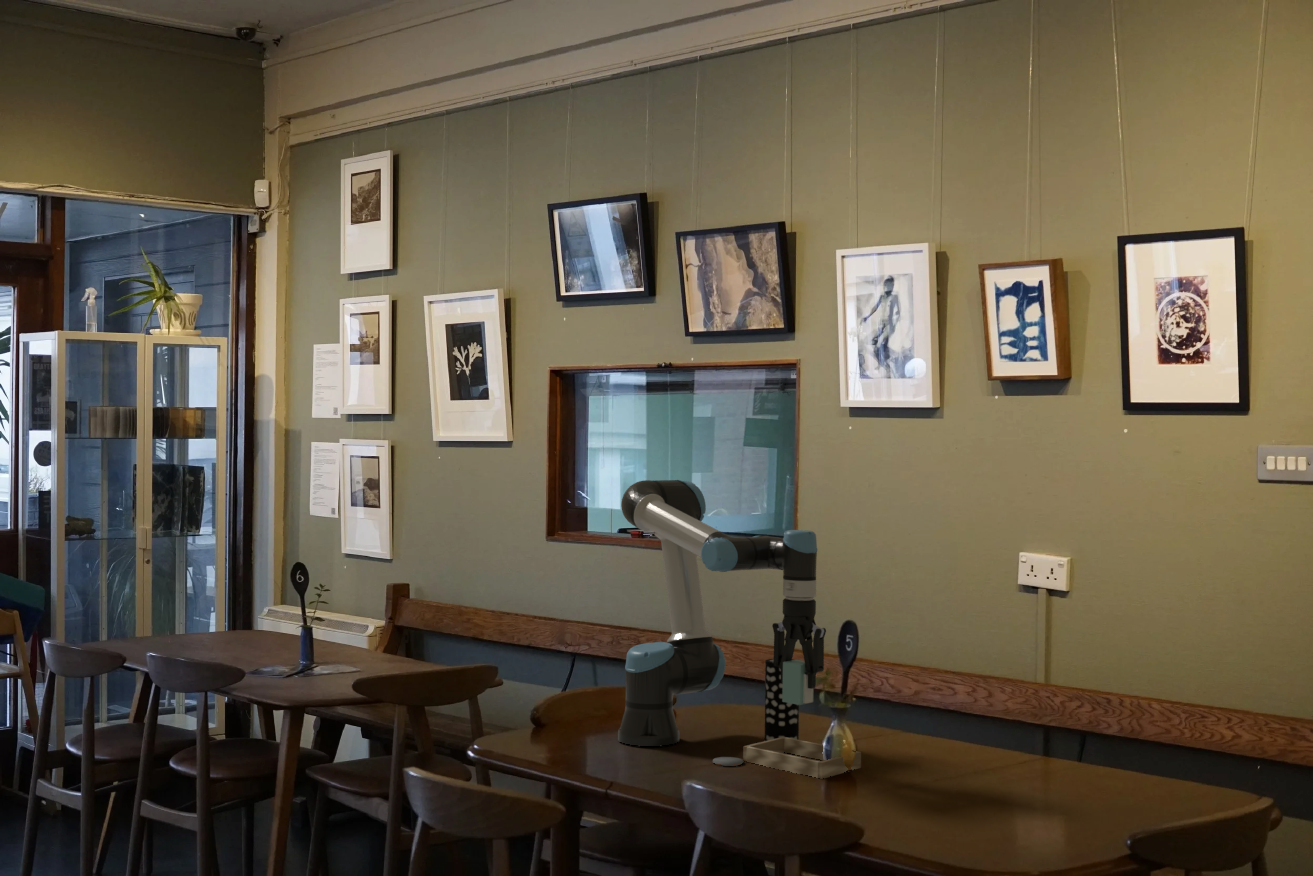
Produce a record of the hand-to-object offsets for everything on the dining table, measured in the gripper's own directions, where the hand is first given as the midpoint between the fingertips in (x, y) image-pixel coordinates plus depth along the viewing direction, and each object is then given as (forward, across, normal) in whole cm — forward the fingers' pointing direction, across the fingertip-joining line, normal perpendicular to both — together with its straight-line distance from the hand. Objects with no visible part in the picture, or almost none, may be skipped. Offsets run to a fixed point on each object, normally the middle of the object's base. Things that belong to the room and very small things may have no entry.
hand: (797, 700), depth 284 cm
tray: (+14, +1, 0) cm, 14 cm away
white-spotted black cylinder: (+15, -16, +15) cm, 26 cm away
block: (0, 0, 0) cm, 0 cm away
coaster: (+15, -12, -10) cm, 21 cm away
